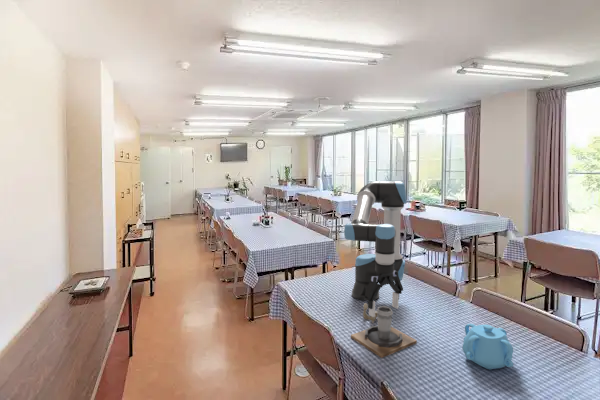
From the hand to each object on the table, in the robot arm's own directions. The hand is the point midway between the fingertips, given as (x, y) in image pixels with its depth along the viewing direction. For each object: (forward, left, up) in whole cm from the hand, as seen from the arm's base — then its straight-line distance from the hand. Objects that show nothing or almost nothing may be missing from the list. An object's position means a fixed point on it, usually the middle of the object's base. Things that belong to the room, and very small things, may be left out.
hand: (383, 311), depth 137 cm
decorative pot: (-22, +31, -13) cm, 40 cm away
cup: (0, 0, -11) cm, 11 cm away
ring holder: (0, 0, -12) cm, 12 cm away
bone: (-9, -16, -13) cm, 22 cm away
